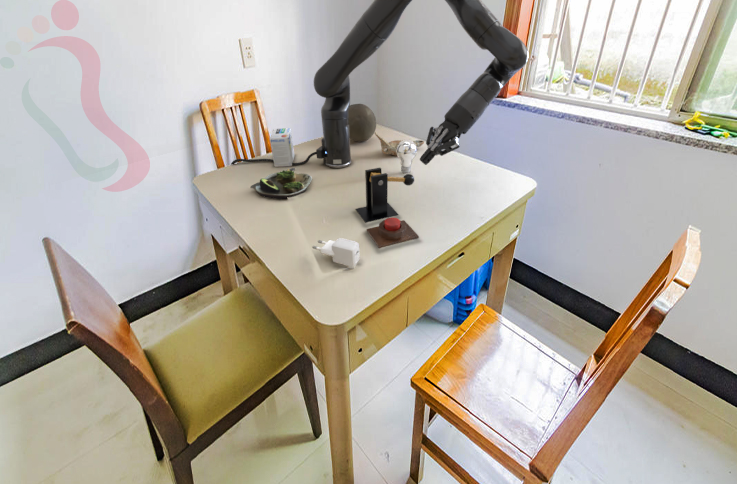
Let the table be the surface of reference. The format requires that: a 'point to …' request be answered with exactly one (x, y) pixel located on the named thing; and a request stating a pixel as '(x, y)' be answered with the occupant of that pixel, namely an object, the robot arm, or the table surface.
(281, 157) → the light bulb box
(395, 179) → the lever
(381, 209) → the switch bracket
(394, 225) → the button
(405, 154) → the light bulb
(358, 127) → the cantaloupe
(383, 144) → the oil lamp
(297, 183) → the salad plate
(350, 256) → the power adapter
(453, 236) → the table surface
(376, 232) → the button block
